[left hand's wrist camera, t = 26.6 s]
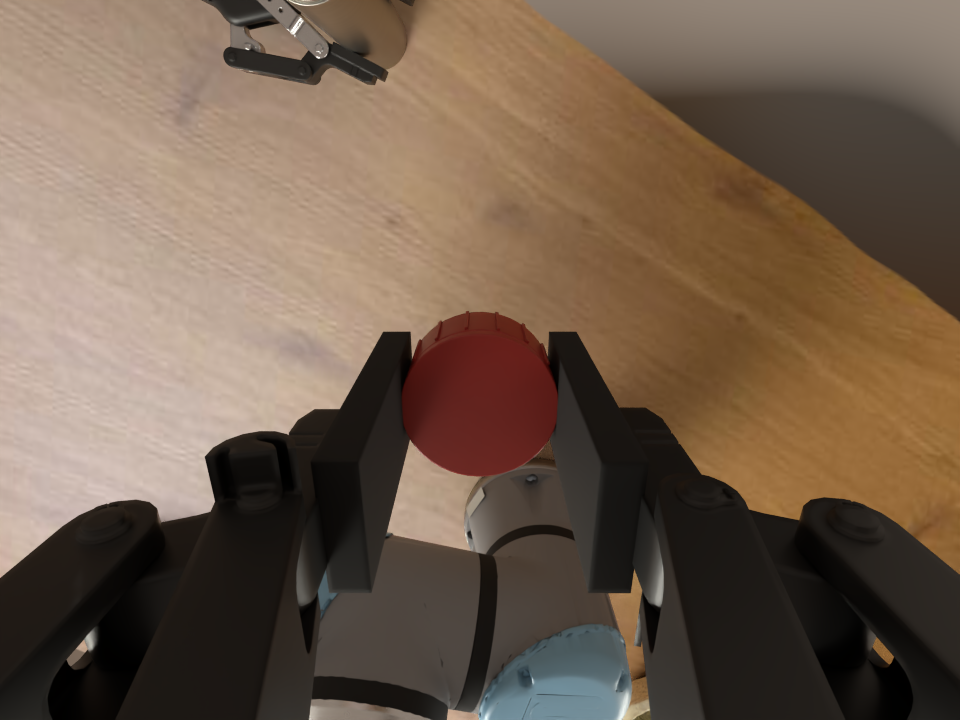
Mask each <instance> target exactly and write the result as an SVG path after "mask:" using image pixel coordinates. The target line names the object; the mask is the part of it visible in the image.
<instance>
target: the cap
mask: <svg viewBox="0 0 960 720" xmlns="http://www.w3.org/2000/svg"><path fill="white" fill-rule="evenodd" d="M557 404H558V390H557V387H556V383H555V380H554V377H553V374H552V371H551V368H550V362H549V360H548V357H547V354H546V351H545V348H544V345H543V343H541V344H540V343H539V341H538V340H537V339H536V338H535V336H534V335H533V334H532V333H531V332H530V331H529V330H528V329H527V328H526V327H525V324H523V323H522V324H520V323H518V322H516V321H514V320H512V319H510V318H508V317H505V316H502V315H499V313H498V312H495V314H494V313H487V312H472V313H469V311H466V313H465V314H461V315H457V316H454V317H452V318H449V319H447V320H445V321H443V322H442V321H439V323H438V325H437V326H436V327H434V328H433V329H432V330H431V331H430V332H429V333H428V334H427V335H426V336H425V337H424V338H423V339H422V340H421V339H420V340H419V341H418V344H417V347H416V350H415V353H414V356H413V359H412V361H411V364H410V367H409V370H408V373H407V376H406V379H405V382H404V385H403V388H402V410H403V425H404V427H405V430H406V432H407V434H408V436H409V438H410V440H411V441H412V443H413V444H414V445H415V447H416V448H417V449H418V450H419V451H420V452H421V453H422V454H423V455H424V456H425V457H426V458H427V459H429V460H430V461H431V462H433V463H434V464H436V465H438V466H439V467H442V468H444V469H446V470H448V471H451V472H454V473H457V474H462V475H467V476H491V475H498V474H502V473H506V472H508V471H511V470H514V469H516V468H518V467H520V466H522V465H524V464H525V463H527V462H528V461H530V460H531V459H532V458H533V457H535V456H536V455H537V454H538V453H539V452H540V451H541V450H542V449H543V447H544V446H545V445H546V443H547V442H548V440H549V439H550V437H551V435H552V433H553V431H554V429H555V426H556V420H557Z"/></svg>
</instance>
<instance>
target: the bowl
mask: <svg viewBox="0 0 960 720" xmlns="http://www.w3.org/2000/svg"><path fill="white" fill-rule="evenodd" d="M622 720H651V715H650V706H649V697H648V688H647V679H646V677H644V678H641V679H636V680H634V681H632V695H631V700H630V704H629V707H628V710H627V712H626V714H625V716H624V718H623V719H622Z"/></svg>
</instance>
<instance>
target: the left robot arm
mask: <svg viewBox="0 0 960 720" xmlns="http://www.w3.org/2000/svg"><path fill="white" fill-rule="evenodd" d="M548 360H549V362H550V368H551V371H552V374H553V377H554V380H555V383H556V387H557V390H558V404H557V420H556V426H555V429H554V431H553V433H552V435H551V437H550V442H551V446H552V450H553V454H554V458H555V461H551V460H546V459H531V460H530V461H528V462H527V463H525V464H524V465H522V466H520V467H518V468H516V469H514V470H511V471H508V472H506V473H502V474H498V475H491V476H484V477H483V478H482V479H481V480H480V481H479V482H478V483H477V484H476V486H475V487H474V488H473V490H472V492H471V493H470V495H469V497H468V500H467V503H466V508H465V521H464V529H465V536H466V539H467V542H468V544H469V547H470V549H471V551H467V550H462V549H457V548H452V547H448V546H443V545H438V544H433V543H428V542H423V541H418V540H414V539H409V538H404V537H399V536H394V535H393V534H392V533H389V532H387V529H388V525H389V521H390V517H391V513H392V509H393V505H394V501H395V497H396V493H397V489H398V485H399V481H400V477H401V473H402V469H403V465H404V461H405V457H406V453H407V449H408V445H409V441H410V438H409V436H408V434H407V432H406V430H405V427H404V425H403V410H402V388H403V385H404V382H405V379H406V376H407V373H408V370H409V367H410V364H411V361H412V351H411V332H383V333H382V335H381V337H380V339H379V340H378V342H377V344H376V346H375V348H374V349H373V351H372V353H371V355H370V356H369V358H368V360H367V362H366V364H365V365H364V367H363V369H362V371H361V373H360V374H359V376H358V378H357V380H356V381H355V383H354V385H353V387H352V389H351V390H350V392H349V394H348V396H347V397H346V399H345V401H344V403H343V405H342V406H341V408H340V409H314V410H313V411H311V412H310V413H308V414H307V415H305V416H304V417H302V418H300V419H299V420H298V421H297V422H296V424H295V425H294V426H293V428H292V429H291V431H290V432H289V435H287V434H284V433H280V432H276V431H259V432H253V433H248V434H242V435H239V436H237V437H234V438H231V439H228V440H226V441H224V442H222V443H221V444H219V445H217V446H215V447H214V448H213V449H212V450H211V451H210V452H209V453H208V454H207V455H206V456H205V459H206V464H207V468H208V472H209V477H210V481H211V485H212V490H213V494H214V498H215V503H214V505H213V508H212V510H211V512H208V513H204V514H201V515H197V516H192V517H187V518H182V519H177V520H172V521H167V522H162V523H161V521H160V518H159V514H158V511H157V508H156V507H155V506H153V505H152V504H151V503H150V502H146V501H140V500H128V501H117V502H112V503H109V504H104V505H101V506H98V507H96V508H94V509H92V510H90V511H88V512H86V513H83V514H81V515H79V516H77V517H76V518H74V519H73V520H71V521H70V522H68V523H67V524H65V525H64V526H62V527H61V528H60V529H59V530H58V531H56V532H55V533H54V534H53V535H52V536H50V537H49V538H48V539H47V540H46V541H44V542H43V543H42V544H41V545H40V546H38V547H37V548H36V549H35V550H34V551H32V552H31V553H30V554H29V555H28V556H26V557H25V558H24V559H23V560H21V561H20V562H19V563H18V564H17V565H15V566H14V567H13V568H12V569H11V570H9V571H8V572H7V573H6V574H5V575H3V576H2V577H1V578H0V720H447V713H448V709H451V710H458V711H464V712H470V713H475V714H478V717H479V720H622V719H623V718H624V716H625V714H626V712H627V710H628V707H629V704H630V700H631V695H632V682H631V676H630V671H629V666H628V661H627V656H626V645H625V641H624V638H623V637H622V635H621V633H620V631H619V627H618V624H617V621H616V618H615V614H614V611H613V608H612V605H611V601H610V598H609V595H608V593H631V587H632V580H633V573H634V569H635V572H636V574H637V577H638V580H639V582H640V585H641V588H642V596H641V603H640V609H639V616H638V622H637V629H636V635H635V642H634V646H639V647H641V642H642V644H643V653H644V662H645V671H646V679H647V688H648V697H649V706H650V715H651V720H960V575H959V574H958V573H957V572H956V571H954V570H953V569H952V568H951V567H950V566H948V565H947V564H946V563H945V562H944V561H942V560H941V559H940V558H939V557H937V556H936V555H935V554H934V553H933V552H931V551H930V550H929V549H928V548H927V547H925V546H924V545H923V544H922V543H920V542H919V541H918V540H917V539H916V538H914V537H913V536H912V535H911V534H909V533H908V532H907V531H906V530H905V529H903V528H902V527H901V526H900V525H899V524H897V523H896V522H894V521H893V520H891V519H890V518H888V517H887V516H885V515H884V514H882V513H880V512H878V511H876V510H873V509H871V508H869V507H867V506H865V505H863V504H861V503H857V502H854V501H853V502H851V501H850V500H845V499H836V498H825V497H824V498H818V499H813V500H810V501H809V502H808V503H806V504H805V505H804V506H803V509H802V513H801V516H800V520H795V519H790V518H785V517H779V516H774V515H769V514H764V513H760V512H756V511H753V510H749V509H748V507H747V505H746V502H745V501H744V499H743V498H742V497H741V495H740V494H739V493H738V492H737V491H736V490H735V489H733V488H732V487H730V486H729V485H727V484H726V483H724V482H722V481H720V480H717V479H715V478H712V477H710V476H705V475H701V473H700V472H699V470H698V469H697V468H696V466H695V465H694V463H693V462H692V460H691V459H690V458H689V456H688V455H687V453H686V452H685V450H684V449H683V448H682V446H681V445H680V444H678V441H677V439H676V438H675V436H674V435H673V434H671V431H670V429H669V428H668V426H667V425H666V423H665V422H664V421H663V419H662V418H660V417H659V416H657V415H656V414H654V413H653V412H651V411H650V410H648V409H647V408H619V407H618V405H617V403H616V402H615V400H614V398H613V396H612V395H611V393H610V391H609V389H608V387H607V386H606V384H605V382H604V380H603V378H602V377H601V375H600V373H599V371H598V370H597V368H596V366H595V364H594V362H593V361H592V359H591V357H590V355H589V354H588V352H587V350H586V348H585V346H584V345H583V343H582V341H581V339H580V337H579V336H578V334H577V332H549V345H548ZM876 637H877V638H878V639H879V640H880V641H881V642H882V643H883V644H884V646H885V647H886V648H887V649H888V650H889V651H890V652H891V654H892V655H893V656H894V659H893V661H892V663H891V664H890V665H889V664H888V663H887V662H885V661H884V660H883V659H882V658H881V657H880V656H879V655H878V653H877V652H876V651H875V650H874V649H873V648H872V647H873V644H874V642H875V639H876ZM83 640H85V643H86V645H87V648H88V650H87V651H86V652H85V654H84V655H83V656H82V657H81V658H80V659H79V660H78V661H77V662H76V663H75V664H74V665H72V666H69V665H68V662H67V660H66V659H67V658H68V657H69V656H70V655H71V654H72V652H73V651H74V650H75V649H76V648H77V647H78V646H79V644H80V643H81V642H82V641H83Z"/></svg>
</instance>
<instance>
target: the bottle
mask: <svg viewBox="0 0 960 720" xmlns="http://www.w3.org/2000/svg"><path fill="white" fill-rule="evenodd" d="M286 1H288V2H289V3H290V4H291V5H293V6H294V7H295V8H296V9H297V10H299V11H300V12H301V13H302V14H303V15H305V16H306V17H307V18H308V19H310V20H311V21H312V22H313V23H314V24H316V25H317V26H318V27H319V28H321V29H322V30H323V31H324V32H325V33H327V34H328V35H329V36H330V37H332V38H333V39H334V40H335V41H336V42H338V43H339V44H340V45H341V46H343V47H344V48H346V49H348V50H350V51H352V52H354V53H356V54H358V55H360V56H362V57H364V58H365V59H367V60H369V61H371V62H373V63H375V64H377V65H379V66H381V67H382V68H384V69H385V70H386V69H389V68H391V67H393V66H395V65H396V64H397V63H398V62H399V61H400V60H401V58H402V56H403V55H404V52H405V49H406V44H407V35H406V30H405V27H404V24H403V22H402V20H401V18H400V17H399V15H398V13H397V11H396V10H395V8H394V6H393V4H392V2H391V1H390V0H286Z"/></svg>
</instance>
